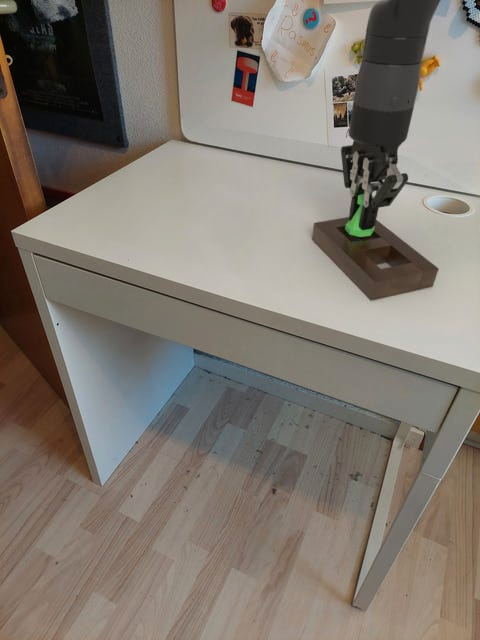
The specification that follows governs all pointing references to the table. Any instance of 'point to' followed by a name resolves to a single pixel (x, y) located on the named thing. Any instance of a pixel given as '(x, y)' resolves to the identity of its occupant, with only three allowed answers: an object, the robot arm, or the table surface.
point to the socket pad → (375, 259)
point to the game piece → (353, 224)
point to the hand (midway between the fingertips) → (360, 223)
